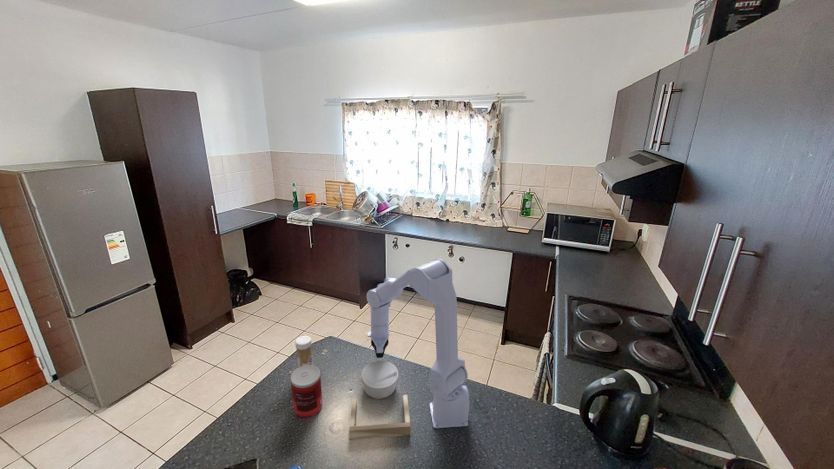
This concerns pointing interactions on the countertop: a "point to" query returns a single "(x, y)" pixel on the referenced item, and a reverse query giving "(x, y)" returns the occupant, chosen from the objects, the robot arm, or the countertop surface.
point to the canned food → (306, 390)
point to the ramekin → (379, 379)
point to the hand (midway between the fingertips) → (379, 356)
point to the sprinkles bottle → (304, 351)
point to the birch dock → (379, 425)
